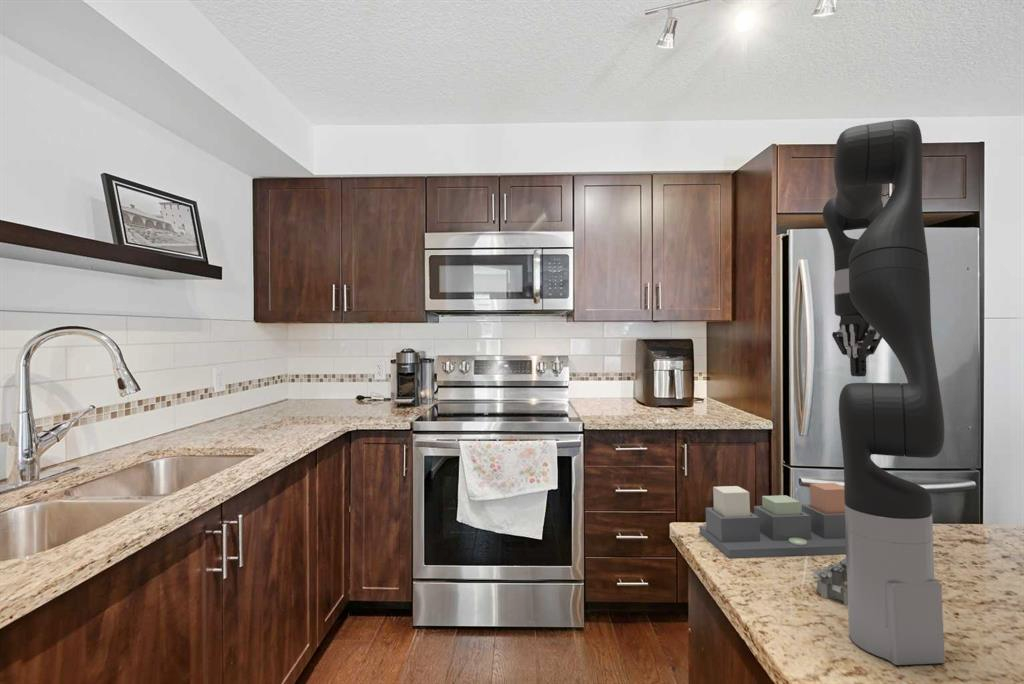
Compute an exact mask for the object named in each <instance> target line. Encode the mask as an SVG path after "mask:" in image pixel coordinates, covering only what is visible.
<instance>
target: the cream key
mask: <svg viewBox="0 0 1024 684" xmlns="http://www.w3.org/2000/svg"><path fill="white" fill-rule="evenodd" d="M712 492H713V495H712V496H713V507H714V511H715V512H716V513H718V514H719V515H721V516H722V517H748V516H750V512H751V507H750V506H751V504H750V503H751V501H750V500H751V499H750V491H748V490H747V489H744V488H743V487H740V486H738V485H732V486H731V485H730V486H729V485H727V486H726V485H723V486H721V485H720V486H713V487H712Z"/></svg>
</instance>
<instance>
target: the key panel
mask: <svg viewBox="0 0 1024 684" xmlns="http://www.w3.org/2000/svg"><path fill="white" fill-rule="evenodd" d="M698 527H699V534H700V535H701V536H702V537H704V538H705V539H706V540H707V541H708V542H710V543H711V544H712V545H713V546H714V547H715V548H716V549H718V550H719V551H720V552H721V553H723V554H724V555H725V556H726V557H727V558H729V559H742V558H743V559H744V558H745V559H747V558H749V559H750V558H771V557H772V558H774V557H797V556H798V557H801V556H803V557H804V556H805V557H806V556H825V555H826V556H827V555H829V556H830V555H846V535H845V513H839V514H824V513H822V512H820V511H818V510H816V509H814V508H812V507H811V503H810V504H809V503H807V504H801V515H779V516H774V515H773V514H771V513H769V512H767V511H766V510H764V509H762V505H753V512H751V511H750V516H748V517H722V516H721V515H719V514H718V513H716V512H715V511H714V506H713V507H705V525H699V526H698Z"/></svg>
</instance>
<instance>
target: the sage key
mask: <svg viewBox="0 0 1024 684" xmlns="http://www.w3.org/2000/svg"><path fill="white" fill-rule="evenodd" d="M761 498H762V499H761V500H762V501H761V503H762V505H761V506H762V509H764V510H766V511H767V512H769V513H771V514H773V515H774V516H779V515H801V511H802V504H801V501H799V500H797V499H795V498H793V497H790V496H788V495H786V494H785V495H783V494H781V495H762V496H761Z"/></svg>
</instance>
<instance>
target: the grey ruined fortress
mask: <svg viewBox="0 0 1024 684" xmlns="http://www.w3.org/2000/svg"><path fill="white" fill-rule="evenodd" d="M812 579H813V580H814V581H816V593H818V594H820V597H821V598H825V599H828V600H829V599H835V600H839V601H842V602H843V603H844V604H843V605H844V606H847V607H848V591H847V584H844V581H847V563H846V557H844V558H843V559H841V560H840V561H839V562H838V563H837V562H836V563H834V564H833V563H830V564H829V565H828V566H825V567H823V568H822V569H821V568H820V569H814V570H813V577H812Z"/></svg>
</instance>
